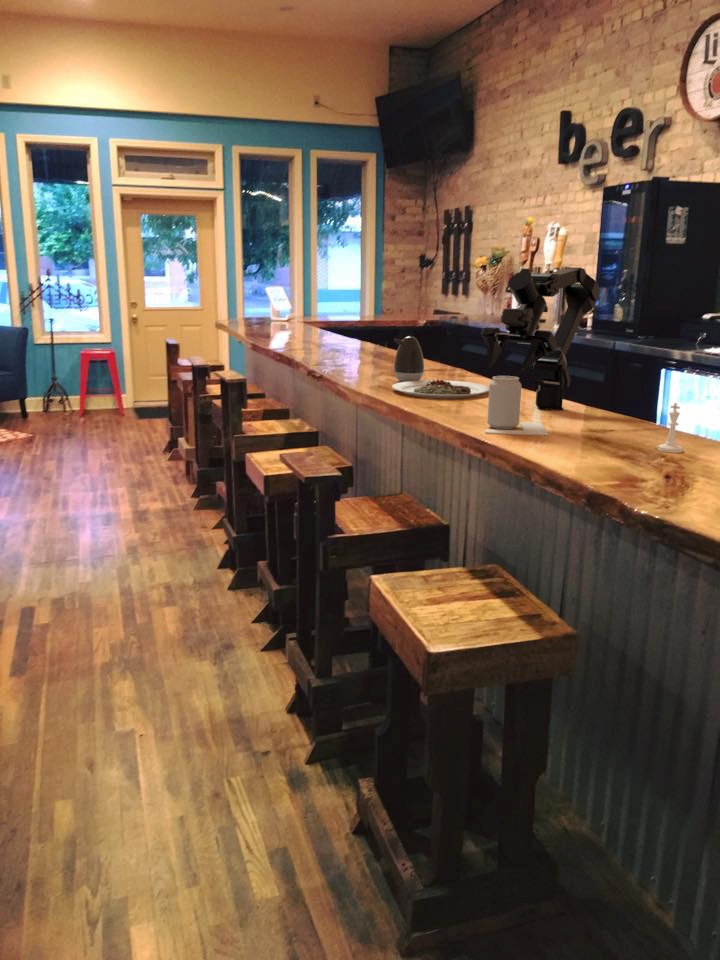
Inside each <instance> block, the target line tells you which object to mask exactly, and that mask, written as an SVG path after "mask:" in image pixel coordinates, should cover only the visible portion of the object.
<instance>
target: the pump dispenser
mask: <svg viewBox="0 0 720 960" xmlns="http://www.w3.org/2000/svg"><path fill="white" fill-rule="evenodd" d="M393 341H394V343H397V344H399V346H398V348H397V350H396V353H395V356H394V364H393V372H394V375H395V378H396V380H398V381H399V382H408V381H421V379H422V377H423V374H424V372H425V361H424V360H425V359H424V355H423V351H422V347H421V346H420V343H419V341H418V339H417V338H416V337H414V336H413V335H407V336H405V337H404V338H403V339H398V338H397V337H396V338H394V339H393Z"/></svg>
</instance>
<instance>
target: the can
mask: <svg viewBox="0 0 720 960" xmlns="http://www.w3.org/2000/svg"><path fill="white" fill-rule="evenodd" d="M519 380H520V377H518V376H514V375H513V376H511V375H496V376H492V380H491V381H490V382H489V386H488V387H489V392H488V406H487V422H486V423H487V424H488V426H490V428H492V429H495V430H514V429H516V427H518V426H519V425H520V414H521V397H522V383H521V381H519Z"/></svg>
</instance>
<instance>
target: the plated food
mask: <svg viewBox="0 0 720 960" xmlns="http://www.w3.org/2000/svg"><path fill="white" fill-rule="evenodd" d="M391 388H392V390H394V391H398V392H401V393H403V394H406V395H408V396H414V397H420V398H430V399H460V398H464V399H465V398H471V397H475V396H478V395H482V394H486V393H489V386H487V385H486V384H485V385H484V384H480V383H476V382H469V381H467V382H466V381H461V380H460V381H457V380H456V381H455V380H444V379H441V380H440V379H439V378H437V379H436V380H435V379H433V380H431V379H430V380H419V381H408V382H401V381H399V382H396V383H394V384H392V385H391Z"/></svg>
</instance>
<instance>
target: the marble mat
mask: <svg viewBox="0 0 720 960" xmlns="http://www.w3.org/2000/svg"><path fill="white" fill-rule="evenodd" d="M519 425H520V427H521V429H522V430H521V429H520V430H518V429H515V430H514V429H495V428H492V429H488V428H485V429H484V433H485V434H488V435H489V434H490V435H491V434H492V435H494V434H495V435H517V436H519V435H521V436H524V435H525V436H548V435H549V434H548V432H547V430H546V428H545V427H544V426H543V424H542V422H528V421H524V422H522V421H519Z"/></svg>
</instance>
